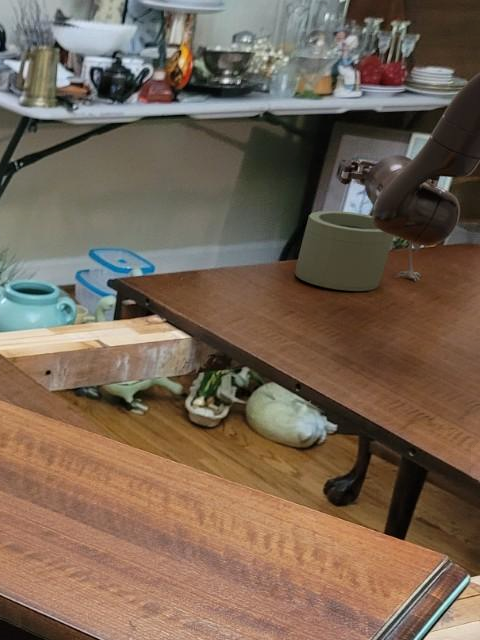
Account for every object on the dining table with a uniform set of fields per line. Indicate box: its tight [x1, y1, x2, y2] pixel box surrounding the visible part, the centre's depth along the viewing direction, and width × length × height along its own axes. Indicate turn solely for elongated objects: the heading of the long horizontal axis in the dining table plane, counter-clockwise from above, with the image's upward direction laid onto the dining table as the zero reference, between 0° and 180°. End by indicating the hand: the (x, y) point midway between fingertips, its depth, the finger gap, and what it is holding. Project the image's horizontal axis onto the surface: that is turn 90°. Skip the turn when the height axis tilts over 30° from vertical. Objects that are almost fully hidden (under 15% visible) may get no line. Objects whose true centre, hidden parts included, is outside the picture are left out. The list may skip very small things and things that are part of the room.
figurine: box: [396, 241, 423, 282], centre depth 193 cm, size 11×4×15 cm, turn 152°
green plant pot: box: [294, 210, 395, 292], centre depth 192 cm, size 14×14×10 cm
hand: (380, 166), depth 174 cm, fingers open, 8 cm apart
